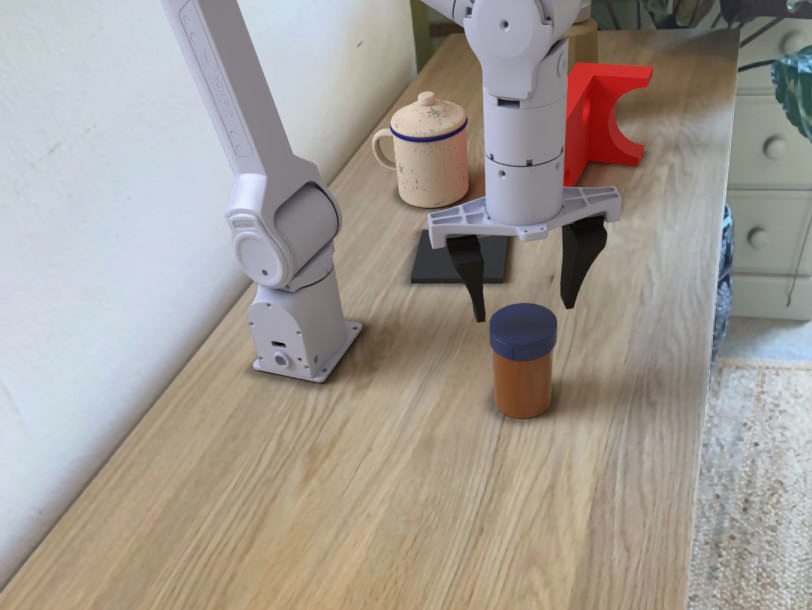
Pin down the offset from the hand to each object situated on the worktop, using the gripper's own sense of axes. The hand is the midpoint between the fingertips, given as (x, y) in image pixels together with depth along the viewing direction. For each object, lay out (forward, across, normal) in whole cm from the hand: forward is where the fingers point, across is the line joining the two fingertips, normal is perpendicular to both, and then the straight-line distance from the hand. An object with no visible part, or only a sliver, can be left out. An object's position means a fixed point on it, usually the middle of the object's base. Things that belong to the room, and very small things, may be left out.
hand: (523, 308), depth 71 cm
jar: (+10, 0, 0) cm, 10 cm away
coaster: (+10, -2, +25) cm, 27 cm away
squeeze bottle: (+10, +18, +54) cm, 58 cm away
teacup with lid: (+10, -4, +41) cm, 43 cm away
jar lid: (+2, 0, 0) cm, 2 cm away
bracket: (+10, +16, +37) cm, 42 cm away
